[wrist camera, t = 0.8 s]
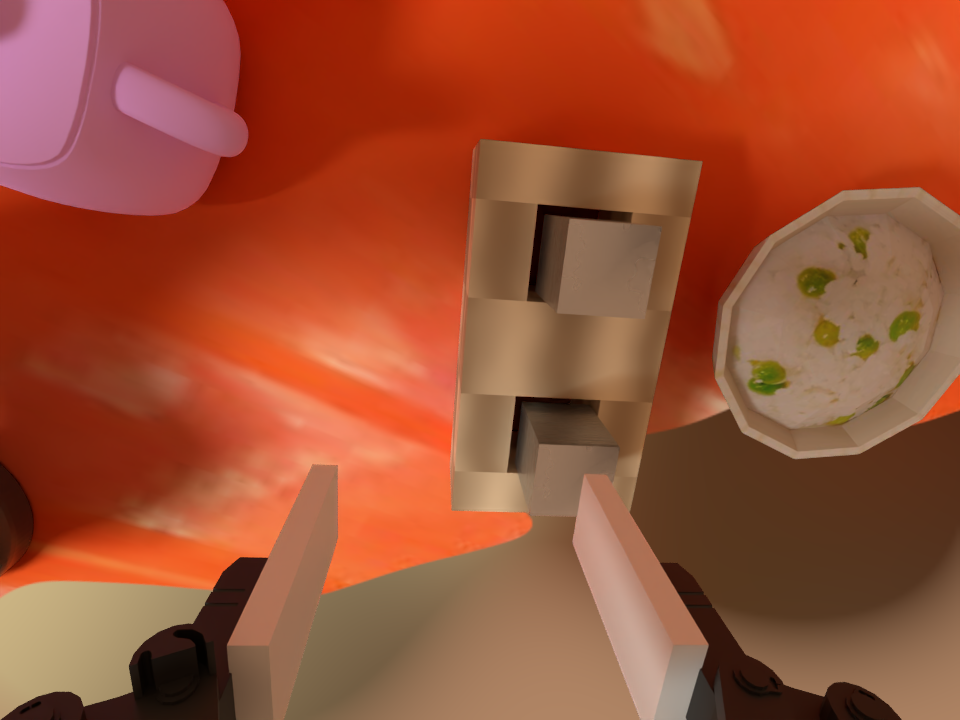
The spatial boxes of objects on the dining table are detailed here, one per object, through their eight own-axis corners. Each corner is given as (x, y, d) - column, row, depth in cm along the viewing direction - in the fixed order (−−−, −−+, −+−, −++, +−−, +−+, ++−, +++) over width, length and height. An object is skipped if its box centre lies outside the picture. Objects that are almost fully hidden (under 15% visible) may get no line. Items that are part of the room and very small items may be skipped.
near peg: (535, 291, 33) (556, 313, 27) (544, 214, 32) (569, 218, 25) (607, 296, 34) (644, 318, 27) (619, 221, 32) (662, 226, 26)
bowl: (820, 427, 46) (920, 487, 36) (628, 391, 43) (681, 445, 34) (919, 217, 40) (1066, 222, 31) (705, 160, 38) (795, 147, 28)
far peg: (514, 462, 37) (529, 515, 31) (522, 401, 36) (539, 444, 29) (579, 465, 38) (606, 517, 31) (589, 404, 36) (620, 447, 30)
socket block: (449, 463, 44) (451, 510, 37) (473, 149, 36) (480, 138, 29) (601, 468, 45) (629, 514, 39) (656, 167, 37) (702, 161, 31)
